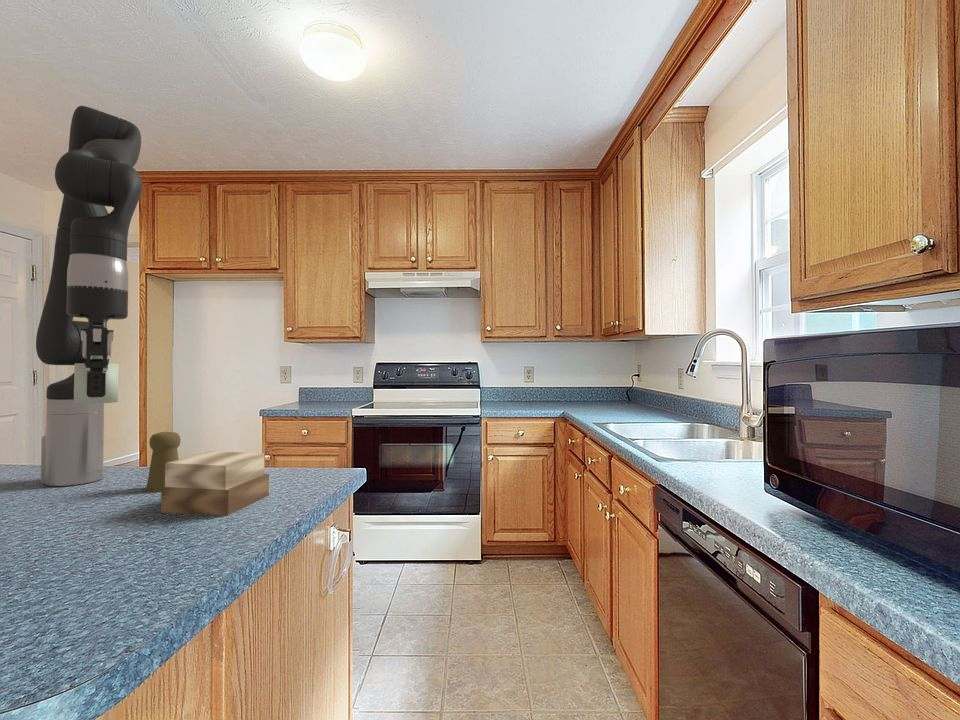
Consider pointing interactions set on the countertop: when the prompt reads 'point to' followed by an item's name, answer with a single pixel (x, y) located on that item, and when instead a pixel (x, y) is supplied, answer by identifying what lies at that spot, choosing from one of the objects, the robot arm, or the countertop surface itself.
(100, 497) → the countertop surface
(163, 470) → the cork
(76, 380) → the pale green cylinder
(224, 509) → the tower base
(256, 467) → the tower top
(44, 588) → the countertop surface
